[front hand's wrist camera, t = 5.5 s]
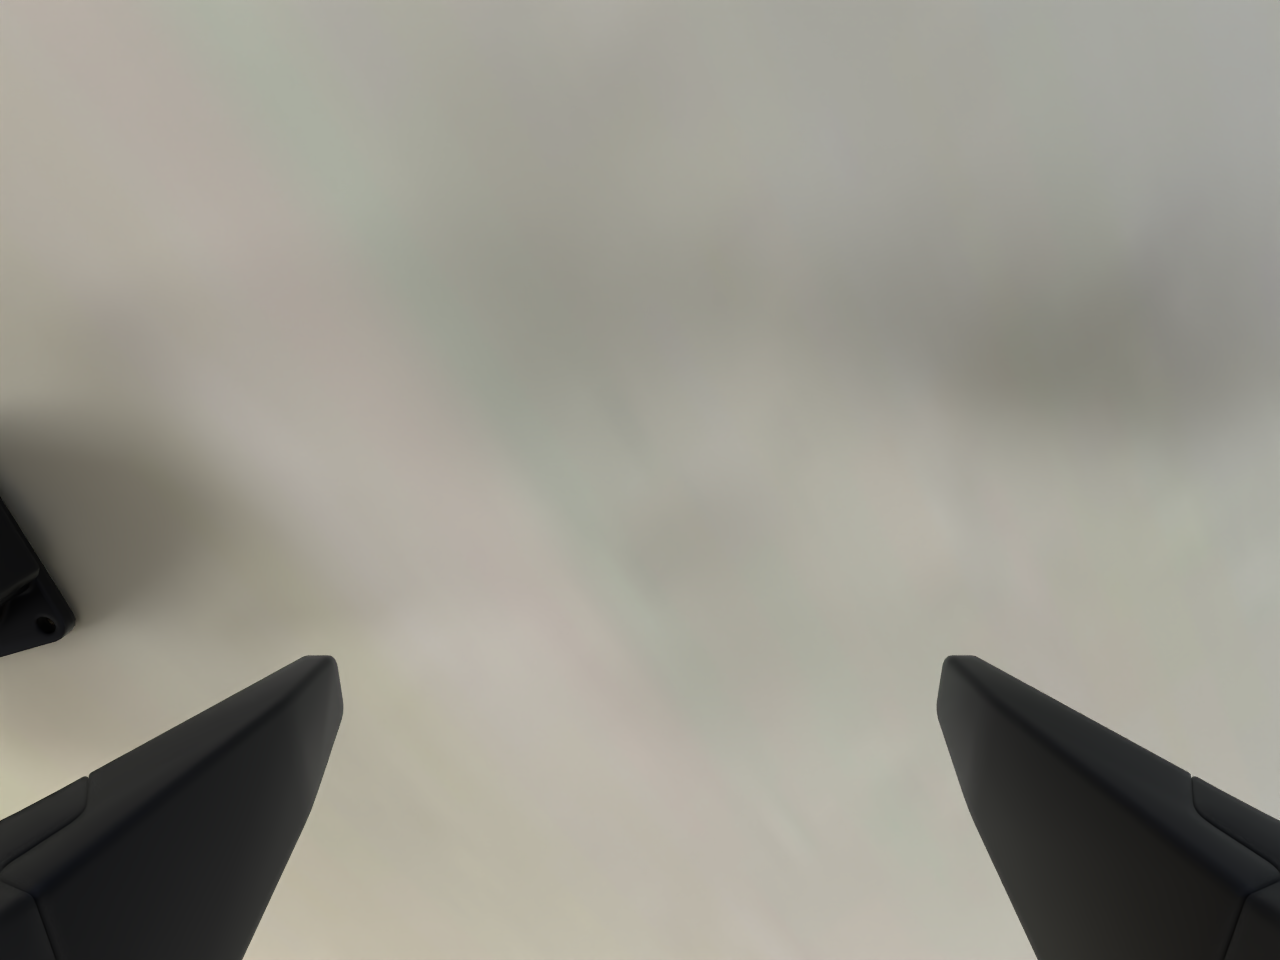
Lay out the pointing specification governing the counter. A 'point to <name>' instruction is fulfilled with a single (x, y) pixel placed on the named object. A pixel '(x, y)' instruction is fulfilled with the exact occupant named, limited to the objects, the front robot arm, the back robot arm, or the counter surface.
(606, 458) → the counter surface
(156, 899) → the front robot arm
